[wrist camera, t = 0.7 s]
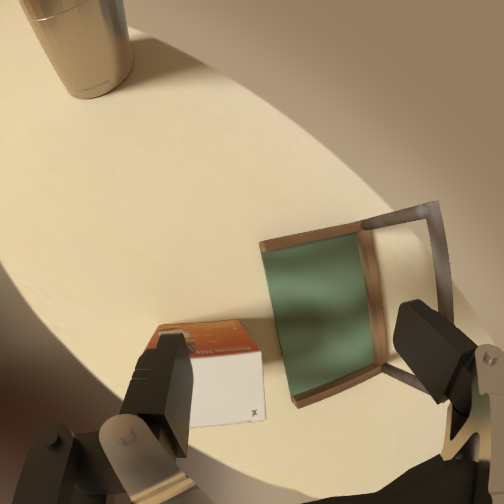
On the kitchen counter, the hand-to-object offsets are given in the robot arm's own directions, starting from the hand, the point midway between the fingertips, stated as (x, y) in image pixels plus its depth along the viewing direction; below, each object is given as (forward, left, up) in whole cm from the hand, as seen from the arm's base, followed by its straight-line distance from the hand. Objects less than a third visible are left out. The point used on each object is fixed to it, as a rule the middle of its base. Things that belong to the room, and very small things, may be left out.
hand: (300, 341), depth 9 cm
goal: (+5, +10, -18) cm, 21 cm away
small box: (+5, -4, -18) cm, 19 cm away
